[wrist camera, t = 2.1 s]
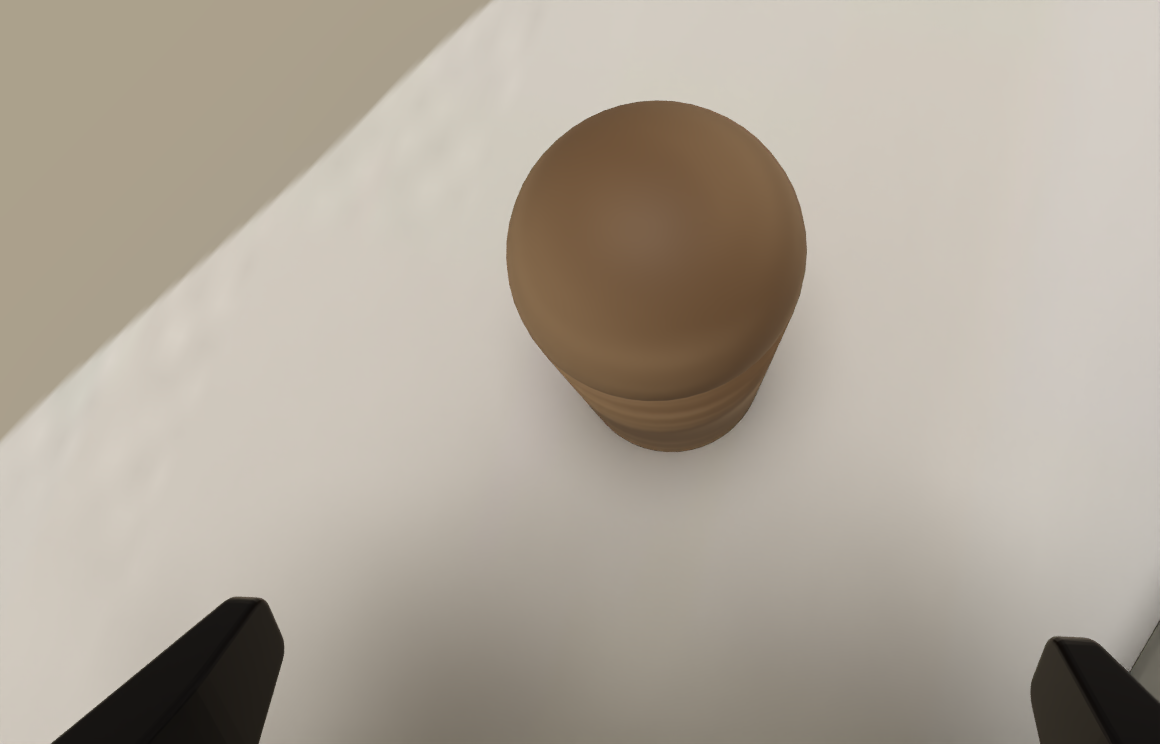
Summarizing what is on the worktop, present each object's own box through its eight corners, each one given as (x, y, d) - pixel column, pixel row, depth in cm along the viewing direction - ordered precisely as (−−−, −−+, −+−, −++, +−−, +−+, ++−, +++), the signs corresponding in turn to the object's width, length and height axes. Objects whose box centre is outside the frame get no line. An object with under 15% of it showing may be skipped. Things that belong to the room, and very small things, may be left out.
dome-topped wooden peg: (648, 487, 22) (597, 446, 11) (548, 343, 23) (408, 167, 12) (798, 383, 22) (907, 231, 10) (691, 243, 23) (687, -27, 12)
